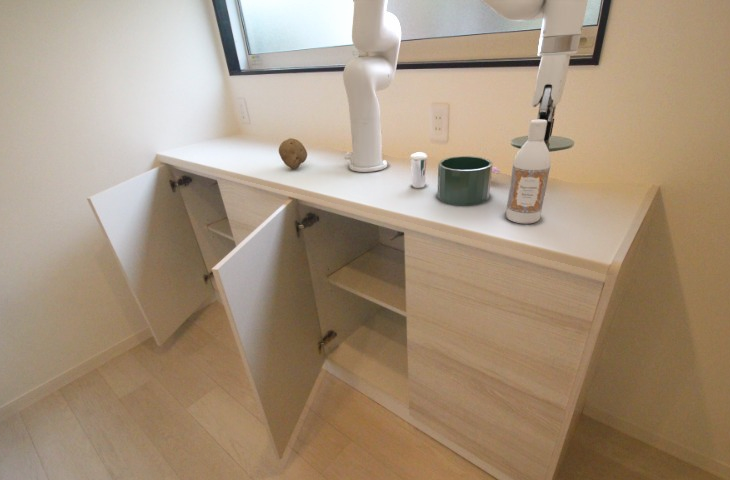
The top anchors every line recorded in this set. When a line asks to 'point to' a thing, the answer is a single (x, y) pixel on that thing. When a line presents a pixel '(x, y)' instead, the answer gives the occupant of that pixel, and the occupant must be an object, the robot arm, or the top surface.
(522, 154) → the bath foam
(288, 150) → the brown potato
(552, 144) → the pot lid
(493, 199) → the top surface
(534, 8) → the robot arm
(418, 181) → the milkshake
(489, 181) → the pot
